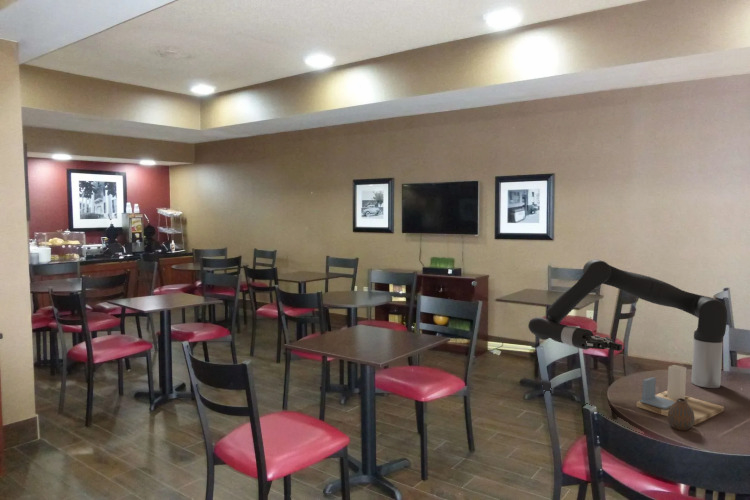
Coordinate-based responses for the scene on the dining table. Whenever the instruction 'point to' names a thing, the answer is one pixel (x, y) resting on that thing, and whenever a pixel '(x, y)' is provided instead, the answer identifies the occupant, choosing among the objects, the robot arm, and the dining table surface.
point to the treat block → (676, 382)
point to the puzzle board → (699, 407)
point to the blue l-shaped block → (653, 395)
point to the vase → (681, 415)
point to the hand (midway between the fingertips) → (620, 347)
